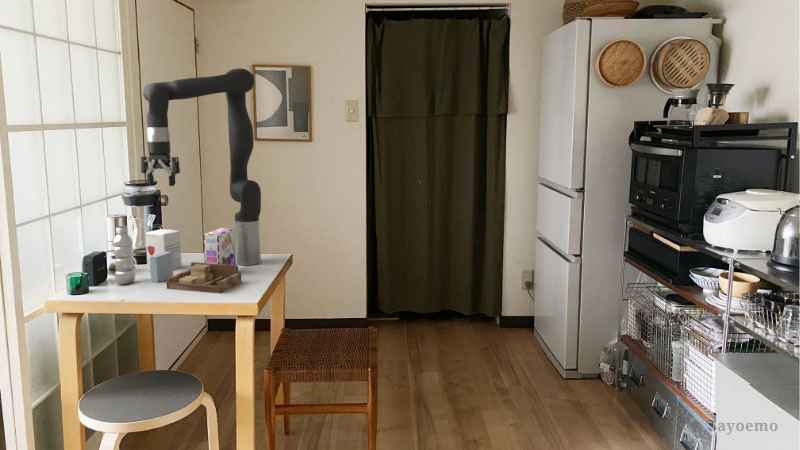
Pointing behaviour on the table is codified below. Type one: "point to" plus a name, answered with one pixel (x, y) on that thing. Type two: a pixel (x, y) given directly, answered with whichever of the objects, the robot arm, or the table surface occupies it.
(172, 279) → the tray
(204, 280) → the offcut
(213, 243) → the candy box
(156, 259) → the board
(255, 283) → the table surface
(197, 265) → the offcut
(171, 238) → the supplement box
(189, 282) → the offcut
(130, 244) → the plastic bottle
